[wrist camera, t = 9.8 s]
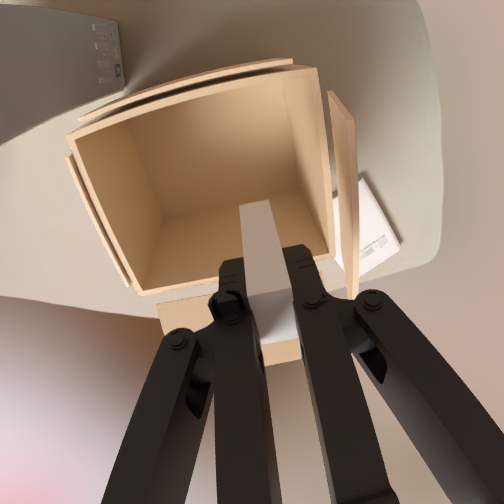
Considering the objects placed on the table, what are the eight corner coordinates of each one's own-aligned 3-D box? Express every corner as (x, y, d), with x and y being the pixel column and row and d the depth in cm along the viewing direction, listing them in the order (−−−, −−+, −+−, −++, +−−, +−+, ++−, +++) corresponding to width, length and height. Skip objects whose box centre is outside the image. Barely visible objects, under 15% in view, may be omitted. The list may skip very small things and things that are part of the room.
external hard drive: (358, 172, 33) (397, 242, 40) (300, 212, 36) (348, 274, 42) (363, 178, 32) (402, 249, 38) (303, 219, 35) (352, 282, 41)
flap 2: (351, 326, 17) (356, 326, 17) (346, 119, 10) (354, 119, 10) (340, 247, 23) (344, 246, 22) (327, 90, 16) (332, 90, 16)
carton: (157, 223, 34) (134, 299, 24) (113, 99, 26) (54, 129, 16) (303, 191, 34) (337, 259, 24) (280, 55, 25) (316, 55, 15)
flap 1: (156, 304, 24) (157, 303, 25) (177, 378, 25) (178, 377, 25) (321, 272, 24) (320, 271, 24) (334, 351, 24) (333, 350, 24)
